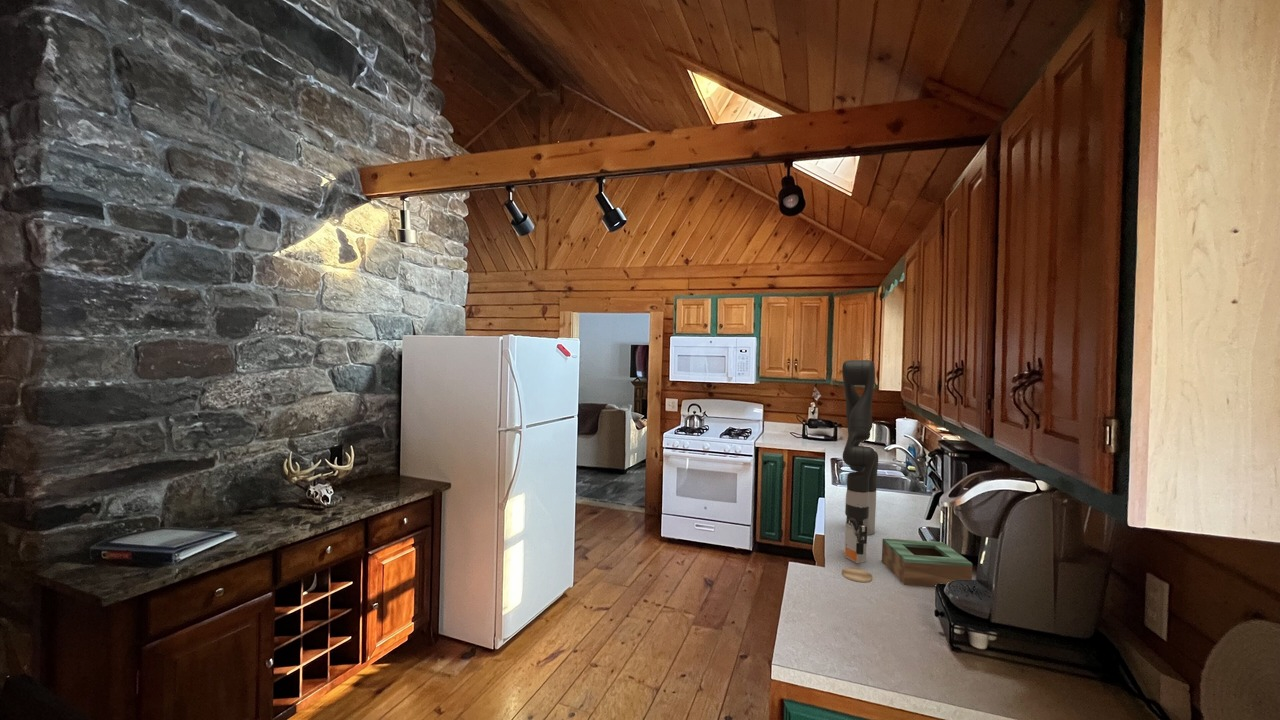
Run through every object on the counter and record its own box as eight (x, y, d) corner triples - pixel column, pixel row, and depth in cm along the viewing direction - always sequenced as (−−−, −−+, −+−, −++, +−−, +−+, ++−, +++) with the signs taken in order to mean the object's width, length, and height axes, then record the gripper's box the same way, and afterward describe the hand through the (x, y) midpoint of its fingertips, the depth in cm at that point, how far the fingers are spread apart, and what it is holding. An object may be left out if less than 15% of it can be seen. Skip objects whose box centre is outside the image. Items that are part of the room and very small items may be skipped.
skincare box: (843, 557, 179) (845, 523, 179) (852, 555, 181) (853, 522, 181) (857, 563, 174) (858, 529, 174) (866, 562, 176) (867, 527, 176)
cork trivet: (838, 569, 169) (838, 566, 169) (866, 571, 168) (866, 568, 168) (847, 581, 160) (847, 578, 160) (876, 583, 159) (876, 580, 159)
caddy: (881, 561, 177) (882, 538, 177) (941, 565, 175) (942, 542, 175) (904, 584, 159) (905, 559, 159) (971, 589, 157) (972, 563, 157)
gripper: (839, 496, 185) (838, 541, 185) (852, 508, 171) (851, 556, 171) (861, 497, 184) (859, 542, 184) (876, 509, 170) (874, 558, 170)
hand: (855, 549), depth 178 cm, fingers open, 8 cm apart
